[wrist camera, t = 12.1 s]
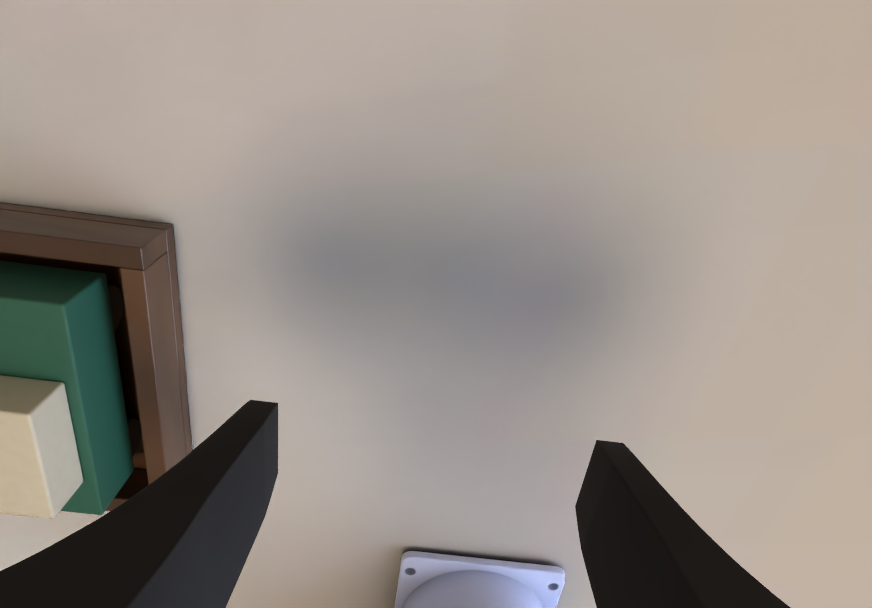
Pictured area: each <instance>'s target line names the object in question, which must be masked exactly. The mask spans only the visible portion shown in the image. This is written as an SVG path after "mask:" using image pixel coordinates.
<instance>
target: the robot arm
mask: <svg viewBox="0 0 872 608" xmlns="http://www.w3.org/2000/svg"><path fill="white" fill-rule="evenodd" d="M277 474H278V403H272V402H263V401H255V400H250V401H249V402H247V403H246V404H245V405H243V406H242V407H241V408H240V409H239V410H238V411H237V412H236V413H235V414H234V415H233V416H231V417H230V418H229V419H228V420H227V421H226V422H225V423H224V424H223V425H222V426H220V427H219V428H218V429H217V430H216V431H215V432H214V433H213V434H211V435H210V436H209V437H208V438H207V439H206V440H205V441H203V442H202V443H201V444H200V445H199V446H197V447H196V448H195V449H194V450H193V451H192V452H190V453H189V454H188V455H187V456H186V457H184V458H183V459H182V460H181V461H180V462H178V463H177V464H176V465H174V466H173V467H172V468H171V469H169V470H168V471H167V472H165V473H164V474H163V475H161V476H160V477H159V478H157V479H156V480H155V481H154V482H152V483H151V484H150V485H148V486H147V487H145V488H144V489H143V490H141V491H140V492H138V493H137V494H136V495H134V496H133V497H131V498H130V499H128V500H127V501H125V502H124V503H123V504H121V505H119V506H118V507H116V508H115V509H113V510H112V511H110V512H109V513H107V514H106V515H104V516H102V517H101V518H99V519H98V520H96V521H94V522H92V523H91V524H89V525H87V526H85V527H84V528H82V529H80V530H78V531H77V532H75V533H73V534H71V535H69V536H68V537H66V538H64V539H62V540H61V541H59V542H57V543H55V544H53V545H52V546H50V547H48V548H46V549H44V550H42V551H40V552H38V553H36V554H34V555H32V556H30V557H28V558H26V559H25V560H23V561H21V562H19V563H17V564H14V565H12V566H10V567H8V568H6V569H4V570H2V571H0V608H226V605H227V603H228V601H229V598H230V596H231V594H232V592H233V589H234V587H235V585H236V582H237V580H238V578H239V575H240V573H241V571H242V569H243V566H244V564H245V562H246V559H247V557H248V555H249V552H250V550H251V548H252V545H253V543H254V541H255V538H256V536H257V534H258V531H259V529H260V527H261V524H262V522H263V520H264V517H265V515H266V511H267V508H268V505H269V502H270V498H271V495H272V492H273V488H274V485H275V481H276V478H277ZM575 507H576V515H577V523H578V531H579V537H580V544H581V550H582V554H583V558H584V562H585V566H586V569H587V573H588V577H589V580H590V584H591V588H592V591H593V595H594V599H595V602H596V606H597V608H790V607H789V606H788V605H786V604H785V603H784V602H783V601H781V600H780V599H779V598H778V597H776V596H775V595H774V594H773V593H771V592H770V591H769V590H768V589H767V588H766V587H764V586H763V585H762V584H761V583H760V582H759V581H757V580H756V579H755V578H754V577H753V576H752V575H750V574H749V573H748V572H747V571H746V570H745V569H743V568H742V567H741V566H740V565H739V564H738V563H737V562H736V561H735V560H733V559H732V558H731V557H730V556H729V555H728V554H727V553H726V552H725V551H724V550H723V549H722V548H721V547H720V546H719V545H718V544H717V543H716V542H715V541H714V540H713V539H712V538H711V537H709V536H708V535H707V534H706V533H705V532H704V531H703V530H702V529H701V528H700V527H699V526H698V525H697V523H696V522H695V521H694V520H693V519H692V518H691V517H690V516H689V515H688V514H687V513H686V512H685V511H684V510H683V509H682V508H681V507H680V506H679V505H678V503H677V502H676V501H675V500H674V499H673V498H672V497H671V496H670V495H669V494H668V492H667V491H666V490H665V489H664V488H663V487H662V486H661V485H660V484H659V482H658V481H657V480H656V479H655V478H654V477H653V476H652V475H651V473H650V472H649V471H648V470H647V469H646V468H645V467H644V466H643V464H642V463H641V462H640V461H639V460H638V459H637V458H636V456H635V455H634V454H633V453H632V452H631V451H630V450H629V449H628V448H627V447H626V446H625V445H624V444H623V443H618V442H609V441H600V440H597V441H596V444H595V447H594V450H593V453H592V456H591V459H590V462H589V466H588V469H587V472H586V475H585V478H584V481H583V484H582V487H581V490H580V493H579V497H578V500H577V503H576V506H575ZM564 582H565V573H564V570H563V569H562V568H560V567H557V566H548V565H539V564H529V563H520V562H511V561H502V560H492V559H483V558H474V557H464V556H455V555H446V554H436V553H427V552H418V551H408V552H405V553H404V554H403V555H402V557H401V563H400V570H399V577H398V584H397V591H396V598H395V605H394V608H556V606H557V603H558V600H559V597H560V594H561V591H562V588H563V585H564Z"/></svg>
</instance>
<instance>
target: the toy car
mask: <svg viewBox="0 0 872 608" xmlns="http://www.w3.org/2000/svg"><path fill="white" fill-rule="evenodd" d="M122 313H123V297H122V294H121V292H120V290H119V289H118V288H117V287H115V286H112V285H107V278H106V274H104V273H97V272H89V271H81V270H73V269H65V268H57V267H48V266H40V265H32V264H24V263H16V262H8V261H0V513H3V514H13V515H22V516H32V517H41V518H50V519H52V518H55V517H56V515H57V514H58V513H59V512H60V511H68V512H77V513H87V514H96V515H102V514H103V513H104V512H105V510H106V509H107V507H108V506H109V505H110V503H111V502H112V500H113V499H114V498H115V496H116V495H117V493H118V492H119V490H120V489H121V488H122V486H123V485H124V483H125V482H126V480H127V479H128V478H129V476H130V475H131V473H132V472H133V471H134V464H133V456H134V454H135V452H136V450H137V447H138V444H139V440H140V424H139V422H138V421H137V420H136V419H132V418H127V416H126V409H125V402H124V395H123V388H122V381H121V374H120V367H119V361H118V354H117V347H116V340H115V333H114V331H115V330H116V328H117V327H118V325H119V323H120V321H121V318H122Z"/></svg>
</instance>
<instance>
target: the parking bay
mask: <svg viewBox="0 0 872 608" xmlns="http://www.w3.org/2000/svg"><path fill="white" fill-rule="evenodd" d="M0 261H8V262H16V263H24V264H32V265H40V266H48V267H57V268H65V269H73V270H81V271H89V272H97V273H104V274H106V278H107V285H112V286H115V287H117V288H118V289H119V290H120V292H121V294H122V297H123V313H122V318H121V321H120V323H119V325H118V327H117V328H116V330H115V331H114V333H115V340H116V347H117V354H118V361H119V367H120V374H121V381H122V388H123V395H124V402H125V409H126V416H127V418H132V419H136V420H137V421H138V422H139V424H140V440H139V444H138V447H137V450H136V452H135V454H134V456H133V464H134V471H133V472H132V473H131V475H130V476H129V478H128V479H127V480H126V482H125V483H124V485H123V486H122V488H121V489H120V490H119V492H118V493H117V495H116V496H115V498H114V499H113V500H112V502H111V503H110V505H109V506H108V507H107V509H106V510H105V511H112V510H113V509H115V508H116V507H118V506H119V505H121V504H123V503H124V502H125V501H127V500H128V499H130V498H131V497H133V496H134V495H136V494H137V493H138V492H140V491H141V490H143V489H144V488H145V487H147V486H148V485H150V484H151V483H152V482H154V481H155V480H156V479H157V478H159V477H160V476H161V475H163V474H164V473H165V472H167V471H168V470H169V469H171V468H172V467H173V466H174V465H176V464H177V463H178V462H180V461H181V460H182V459H183V458H184V457H186V456H187V455H188V454H189V453H190V452H192V446H191V434H190V422H189V410H188V398H187V386H186V374H185V362H184V351H183V339H182V327H181V315H180V303H179V291H178V279H177V267H176V255H175V243H174V231H173V225H172V224H164V223H156V222H148V221H140V220H132V219H124V218H116V217H108V216H101V215H93V214H85V213H77V212H69V211H61V210H53V209H45V208H37V207H29V206H21V205H14V204H6V203H0Z"/></svg>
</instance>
